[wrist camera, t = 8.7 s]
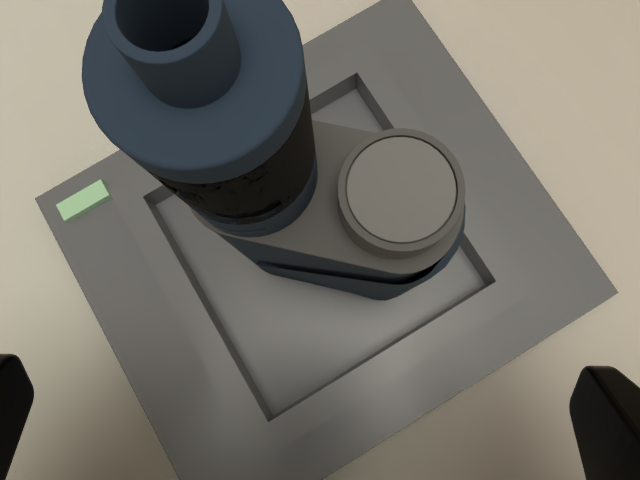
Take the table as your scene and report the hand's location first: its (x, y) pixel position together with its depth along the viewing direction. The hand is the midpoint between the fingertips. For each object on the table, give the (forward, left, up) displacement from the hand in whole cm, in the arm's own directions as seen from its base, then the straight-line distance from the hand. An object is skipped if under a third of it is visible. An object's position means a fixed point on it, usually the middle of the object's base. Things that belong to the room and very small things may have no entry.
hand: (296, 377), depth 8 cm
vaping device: (+2, +3, -8) cm, 8 cm away
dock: (+2, +3, -8) cm, 9 cm away
